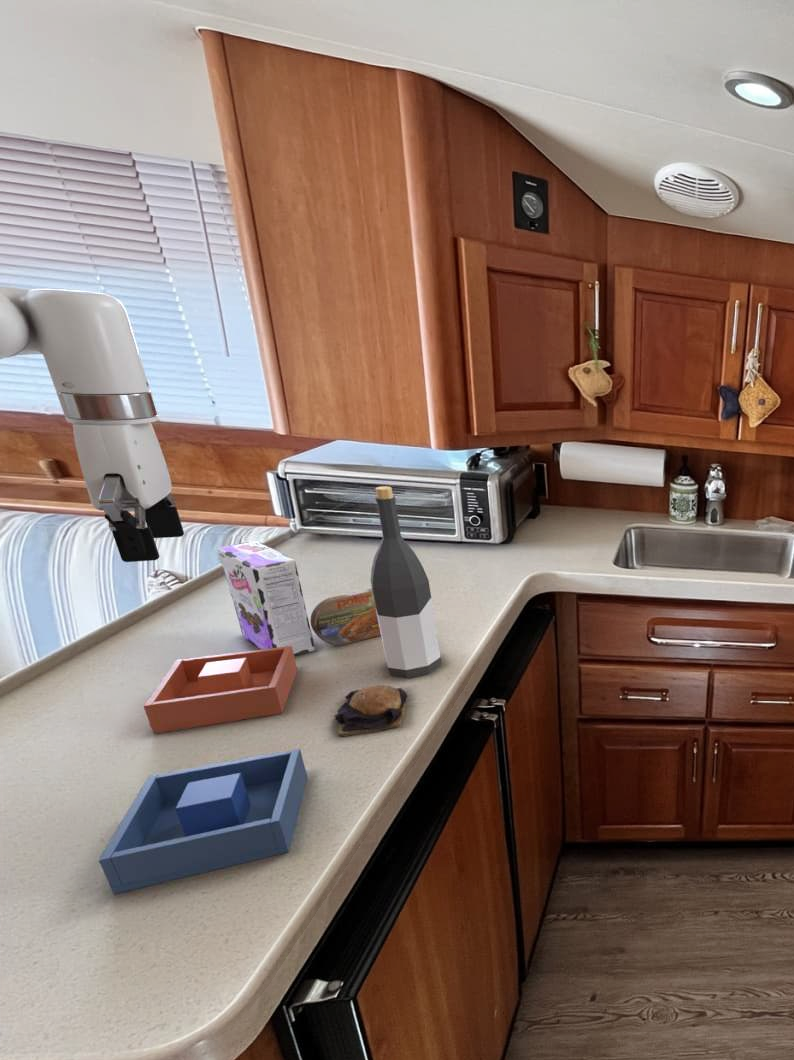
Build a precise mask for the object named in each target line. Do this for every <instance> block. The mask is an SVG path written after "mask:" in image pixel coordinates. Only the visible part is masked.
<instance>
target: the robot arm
mask: <svg viewBox="0 0 794 1060" xmlns="http://www.w3.org/2000/svg"><path fill="white" fill-rule="evenodd" d="M27 355H29V356H30V355H43V359H44V361H45V364H46V366H47V370H48V373H49V375H50V378H51V381H52V384H53V386H54V390H55V393H56V395H57V398H58V401H59V405H60V407H61V409H62V412H63V415H64V418H65V421H66V423H68V424H72V432H73V439H74V445H75V450H76V454H77V458H78V461H79V465H80V469H81V472H82V476H83V479H84V483H85V486H86V490H87V492H88V493H87V494H88V495H89V497H88V498H89V500H90V503H91V506H92V507H93V508H94V509H95V510H98V511H103V512H104V519H105V520H107V521H108V528H109V530H110V531H111V533H112V536H113V538H114V542H115V544H116V547H117V550H118V553H119V555H120V559H121V561H123V562H124V563H135V562H151V561H157V560H158V559H159V558H160V557H161V555H160V553H159V550H158V546H157V543H156V541H155V539H164V538H165V539H166V538H181V537H183V536H184V535H185V531H184V528H183V525H182V521H181V518H180V515H179V512H178V508H177V506H176V500H175V498H174V496H173V495H172V493H171V492H172V490H173V485H172V479H171V476H170V472H169V468H168V465H167V463H166V459H165V456H164V453H163V450H162V448H161V445H160V442H159V439H158V437H157V433H156V431H155V429H154V427H153V424H152V423H155V422H158V421H159V420H160V419H159V415H158V412H157V409H156V405H155V402H154V399H153V395H152V392H151V389H150V385H149V383H148V379H147V376H146V372H145V369H144V366H143V365H144V364H143V362H142V359H141V355H140V351H139V348H138V345H137V342H136V339H135V335H134V332H133V328H132V325H131V322H130V318H129V315H128V313H127V309H126V307H125V306H124V305H123V303H122V302H121V301H120V299H117V297H115V296H112V295H110V294H107V293H102V292H96V291H95V292H94V291H85V290H72V289H56V288H35V289H29V288H27V289H26V288H19V287H13V286H9V285H8V286H7V285H1V284H0V360H2V359H5V358H11V357H16V356H27ZM131 512H134V516H133V515H132V514H131Z"/></svg>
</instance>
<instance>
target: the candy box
mask: <svg viewBox="0 0 794 1060" xmlns="http://www.w3.org/2000/svg"><path fill="white" fill-rule="evenodd" d="M217 552H218V555H219V558H220V562H221V565H222V569H223V572H224V575H225V579H226V582H227V586H228V589H229V592H230V596H231V598H232V603H233V606H234V610H235V614H236V617H237V620H238V624H239V627H240V631H241V634H242V637H243V638H244V639H245V640H247V641H249V642H250V643H251V644H253V645H254V646H255V647H257V648H258V649H259V650H262V649H270V648H279V647H286V646H292V649H293V653H294V657H296V656H299V655H304V654H308V653H311V652H314V651H315V650H316V647H315V642H314V638H313V634H312V628H311V624H310V620H309V616H308V612H307V607H306V603H305V598H304V594H303V590H302V585H301V581H300V575H299V571H298V567H297V563H296V560H295V559H294V558H292V557H288V556H287V555H285V554H283V553H281V552H279V551H278V550H276V549H274V548H272V547H271V546H269V545H266V544H264V543H262V542H261V541H259V540H253V541H247V542H241V543H237V544H231V545H230V544H229V545H225V546H219V547H217Z"/></svg>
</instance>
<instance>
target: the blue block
mask: <svg viewBox="0 0 794 1060" xmlns="http://www.w3.org/2000/svg"><path fill="white" fill-rule="evenodd" d="M250 805H251V803H250V800H249V797H248V794H247V791H246V788H245V784H244V781H243V778H242V775H241V773H237V774H232V775H227V776H222V777H216V778H211V779H206V780H201V781H195V782H190V783H188V784H187V786H186V788H185V790H184V792H183V794H182V796H181V798H180V800H179V802H178V804H177V806H176V808H175V809H176V812H177V815H178V818H179V820H180V823H181V826H182V828H183V831H184V834H185V836H186V837H187V836H192V835H196V834H201V833H205V832H210V831H215V830H219V829H224V828H228V827H233V826H237V825H242V824H244V822H245V819H246V816H247V814H248V811H249V808H250Z"/></svg>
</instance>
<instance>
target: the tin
mask: <svg viewBox="0 0 794 1060" xmlns="http://www.w3.org/2000/svg"><path fill="white" fill-rule="evenodd" d="M310 628H311V630H312V631H313V632H314V633H315V635H316V636H317V637H318V638H319V639H320V640H321V641H323V642H325V643H327V644H330V645H333V646H347V645H350V644H354V643H357V642H361V641H365V640H367V639H371V638H376V637H378V636H381V633H380V628H379V622H378V617H377V612H376V607H375V602H374V597H373V591H372V587H371V588H367V589H362V590H358V591H354V592H350V593H349V592H348V593H345V594H340V595H337V596H336V595H335V596H332V597H328V598H325V599H324V600H322V601H320V602H319V603H318V604H317V605H316V606H315V607H314V608H313V610H312V611H311V614H310Z"/></svg>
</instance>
